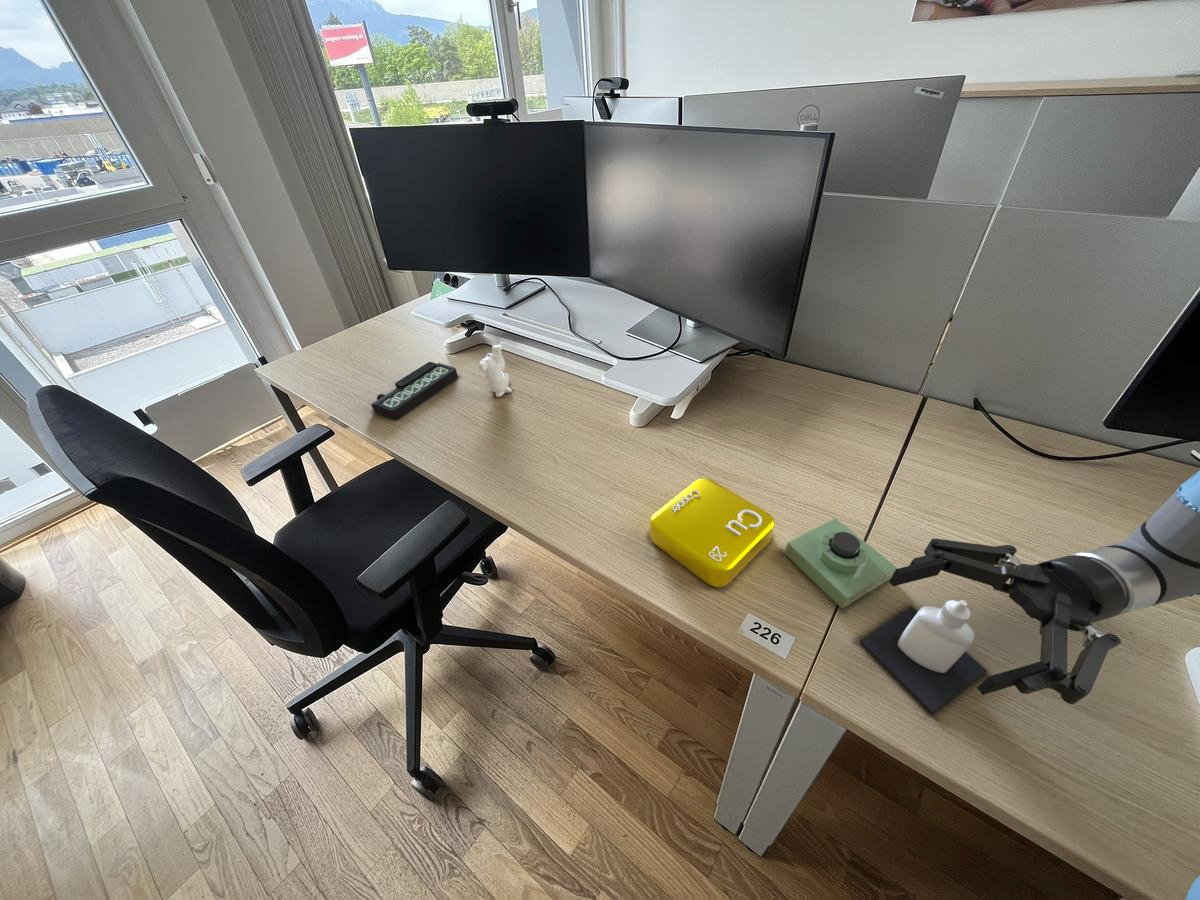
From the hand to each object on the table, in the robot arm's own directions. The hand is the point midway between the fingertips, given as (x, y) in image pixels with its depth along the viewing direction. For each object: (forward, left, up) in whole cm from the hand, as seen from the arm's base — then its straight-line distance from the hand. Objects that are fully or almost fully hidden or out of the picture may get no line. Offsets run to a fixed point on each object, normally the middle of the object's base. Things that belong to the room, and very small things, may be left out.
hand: (935, 626), depth 53 cm
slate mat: (0, -2, -9) cm, 9 cm away
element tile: (+29, +9, -9) cm, 31 cm away
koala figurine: (+91, +25, -9) cm, 95 cm away
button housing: (+15, -4, -9) cm, 17 cm away
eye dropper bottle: (0, -2, -8) cm, 8 cm away
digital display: (+103, +44, -9) cm, 112 cm away
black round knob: (+15, -4, -5) cm, 16 cm away
